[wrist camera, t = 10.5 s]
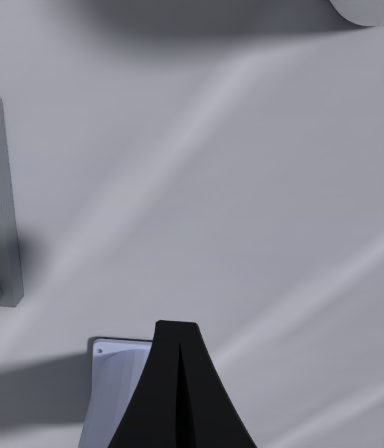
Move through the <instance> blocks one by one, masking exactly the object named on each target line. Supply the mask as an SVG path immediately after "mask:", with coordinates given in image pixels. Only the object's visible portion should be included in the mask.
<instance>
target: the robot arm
mask: <svg viewBox="0 0 384 448" xmlns="http://www.w3.org/2000/svg"><path fill="white" fill-rule="evenodd" d="M78 448H257V447H256V445H255V443H254V442H253V440H252V438H251V437H250V435H249V433H248V431H247V430H246V428H245V426H244V424H243V423H242V421H241V419H240V417H239V415H238V414H237V412H236V410H235V408H234V406H233V404H232V402H231V400H230V398H229V396H228V395H227V393H226V391H225V389H224V386H223V384H222V382H221V380H220V378H219V376H218V374H217V372H216V370H215V367H214V365H213V363H212V361H211V358H210V356H209V353H208V351H207V349H206V346H205V344H204V341H203V338H202V335H201V333H200V330H199V326H198V325H197V324H196V323H194V322H180V321H166V320H159V321H157V322H156V325H155V333H154V338H153V342H141V341H127V340H113V339H96V340H95V341H94V344H93V361H92V395H91V399H90V403H89V406H88V410H87V414H86V418H85V422H84V425H83V429H82V433H81V437H80V441H79V445H78Z"/></svg>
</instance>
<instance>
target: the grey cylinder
mask: <svg viewBox="0 0 384 448" xmlns="http://www.w3.org/2000/svg"><path fill="white" fill-rule="evenodd" d="M330 2H331V3H332V5H333V6H334V8H335V9H336V10H337V11H338V12H339V13H340V15H342V16H343V17H344V18H345V19H347V20H348V21H350V22H352V23H355V24H358V25H362V26H381V25H384V0H330Z"/></svg>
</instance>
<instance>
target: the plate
mask: <svg viewBox="0 0 384 448" xmlns="http://www.w3.org/2000/svg"><path fill="white" fill-rule="evenodd" d="M23 296H24V292H23V283H22V274H21V265H20V256H19V247H18V238H17V230H16V221H15V212H14V203H13V194H12V185H11V176H10V168H9V159H8V150H7V141H6V132H5V123H4V114H3V106H2V99H0V306H2V307H16V306H17V305H18V303H19V302H20V300H21V299H22V298H23Z"/></svg>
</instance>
